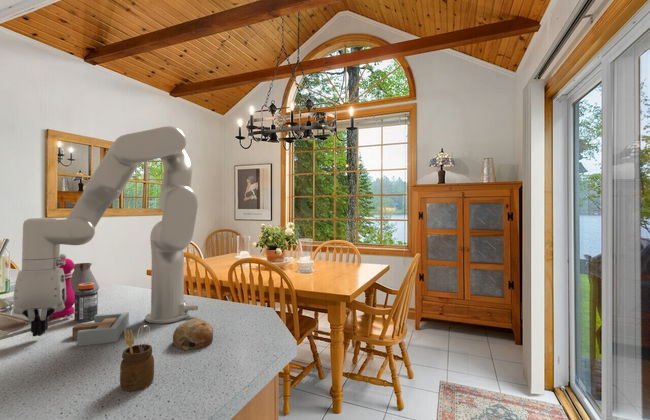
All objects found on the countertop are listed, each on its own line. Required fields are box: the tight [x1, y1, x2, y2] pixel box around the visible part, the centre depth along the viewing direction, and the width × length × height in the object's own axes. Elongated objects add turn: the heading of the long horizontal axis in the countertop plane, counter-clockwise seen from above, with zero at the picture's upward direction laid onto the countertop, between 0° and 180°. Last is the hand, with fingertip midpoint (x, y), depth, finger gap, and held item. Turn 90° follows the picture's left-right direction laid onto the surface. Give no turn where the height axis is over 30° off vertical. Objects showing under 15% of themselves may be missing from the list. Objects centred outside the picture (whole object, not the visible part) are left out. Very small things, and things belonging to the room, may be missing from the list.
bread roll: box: [172, 317, 214, 351], centre depth 87 cm, size 10×10×8 cm
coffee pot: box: [70, 262, 100, 293], centre depth 128 cm, size 21×12×15 cm, turn 35°
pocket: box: [76, 311, 130, 347], centre depth 92 cm, size 8×15×4 cm, turn 20°
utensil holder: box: [119, 325, 155, 392], centre depth 66 cm, size 6×6×12 cm
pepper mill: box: [49, 253, 75, 318], centre depth 109 cm, size 7×7×20 cm
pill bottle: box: [73, 283, 99, 323], centre depth 104 cm, size 6×6×11 cm
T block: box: [71, 318, 117, 340], centre depth 91 cm, size 9×9×3 cm
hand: (39, 334), depth 87 cm, fingers closed
